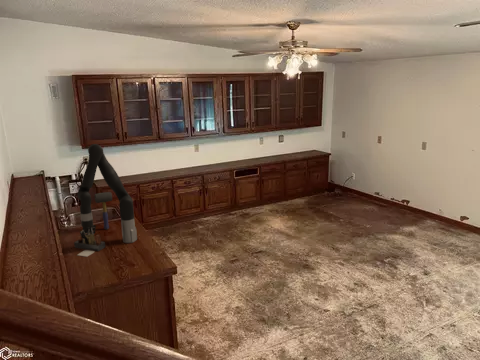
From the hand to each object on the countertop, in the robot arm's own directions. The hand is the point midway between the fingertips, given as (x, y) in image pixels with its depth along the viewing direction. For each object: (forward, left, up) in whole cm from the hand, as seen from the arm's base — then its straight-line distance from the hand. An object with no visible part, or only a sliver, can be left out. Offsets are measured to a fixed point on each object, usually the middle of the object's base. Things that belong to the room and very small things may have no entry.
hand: (89, 241), depth 257 cm
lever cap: (0, 0, 0) cm, 0 cm away
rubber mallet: (+10, -32, -4) cm, 34 cm away
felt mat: (-4, +9, -4) cm, 11 cm away
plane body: (0, 0, -4) cm, 4 cm away
